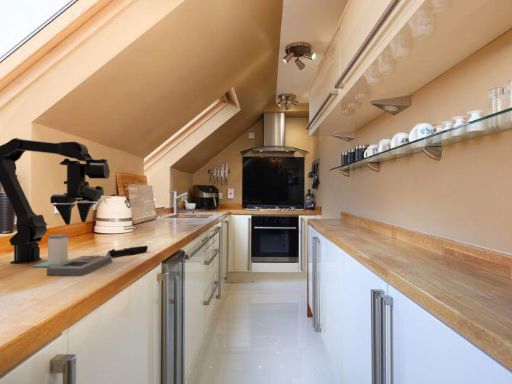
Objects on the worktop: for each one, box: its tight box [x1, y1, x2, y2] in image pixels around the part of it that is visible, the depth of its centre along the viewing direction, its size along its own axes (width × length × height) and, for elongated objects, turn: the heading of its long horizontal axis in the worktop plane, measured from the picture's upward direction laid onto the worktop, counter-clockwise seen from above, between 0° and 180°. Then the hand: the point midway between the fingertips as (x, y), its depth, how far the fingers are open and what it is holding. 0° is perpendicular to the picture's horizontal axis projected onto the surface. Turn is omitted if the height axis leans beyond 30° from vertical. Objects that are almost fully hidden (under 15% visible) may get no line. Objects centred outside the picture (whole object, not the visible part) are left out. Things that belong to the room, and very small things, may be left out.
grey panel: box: [46, 254, 113, 277], centre depth 99 cm, size 10×18×2 cm, turn 179°
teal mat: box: [31, 258, 73, 269], centre depth 104 cm, size 10×10×1 cm
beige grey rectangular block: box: [47, 234, 69, 264], centre depth 104 cm, size 4×4×9 cm
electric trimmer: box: [105, 245, 148, 259], centre depth 121 cm, size 4×16×3 cm, turn 136°
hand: (76, 223), depth 109 cm, fingers open, 9 cm apart
